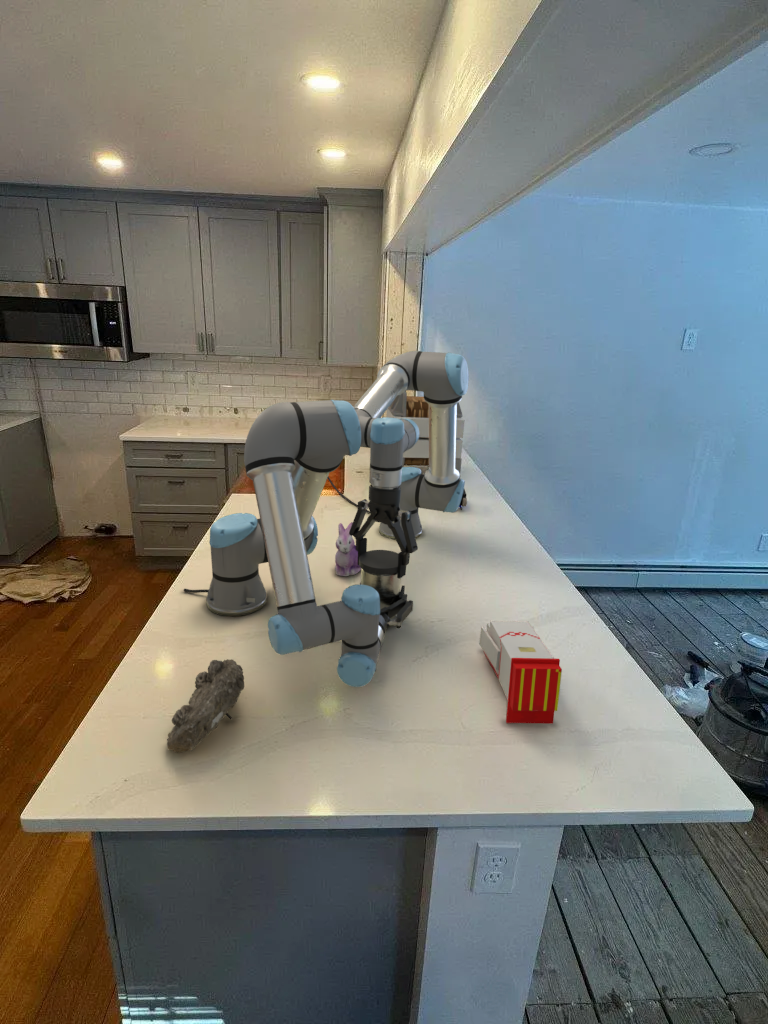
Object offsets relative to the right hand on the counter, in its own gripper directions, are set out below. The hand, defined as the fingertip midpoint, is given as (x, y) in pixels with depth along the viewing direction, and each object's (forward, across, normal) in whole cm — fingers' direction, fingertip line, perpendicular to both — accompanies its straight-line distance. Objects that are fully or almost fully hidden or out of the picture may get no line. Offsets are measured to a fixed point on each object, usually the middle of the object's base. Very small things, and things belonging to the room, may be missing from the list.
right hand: (381, 569), depth 140 cm
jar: (+14, 0, 0) cm, 14 cm away
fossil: (+14, -5, -50) cm, 52 cm away
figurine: (+14, -23, +17) cm, 32 cm away
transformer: (+14, -60, +125) cm, 140 cm away
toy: (+14, +38, -4) cm, 40 cm away
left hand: (+7, -2, +4) cm, 8 cm away
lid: (-3, 0, 0) cm, 3 cm away
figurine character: (+14, -24, +93) cm, 97 cm away
